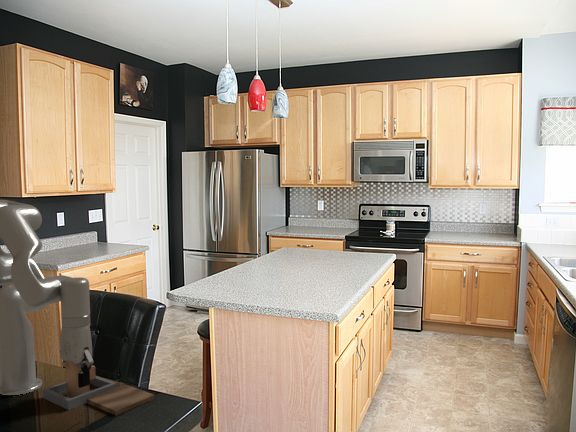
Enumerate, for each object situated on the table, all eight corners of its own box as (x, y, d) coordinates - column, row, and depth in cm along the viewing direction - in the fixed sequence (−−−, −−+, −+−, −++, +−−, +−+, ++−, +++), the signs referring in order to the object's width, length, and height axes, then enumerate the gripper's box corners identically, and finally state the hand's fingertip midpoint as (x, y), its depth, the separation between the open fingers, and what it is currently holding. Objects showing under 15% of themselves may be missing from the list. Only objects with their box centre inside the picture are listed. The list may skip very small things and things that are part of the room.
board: (86, 403, 129) (86, 398, 129) (125, 388, 139) (125, 384, 139) (115, 415, 121) (115, 411, 121) (154, 399, 130) (154, 394, 130)
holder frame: (43, 398, 134) (42, 389, 134) (90, 381, 145) (90, 373, 145) (68, 410, 125) (68, 401, 125) (117, 391, 137) (116, 383, 137)
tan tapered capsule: (59, 395, 134) (58, 360, 134) (89, 385, 141) (88, 352, 141) (70, 400, 131) (69, 365, 130) (100, 390, 138) (99, 356, 137)
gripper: (48, 319, 137) (50, 380, 138) (79, 329, 126) (81, 395, 127) (73, 314, 143) (75, 372, 144) (104, 323, 132) (106, 386, 133)
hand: (78, 382), depth 135 cm, fingers closed on tan tapered capsule, 6 cm apart
